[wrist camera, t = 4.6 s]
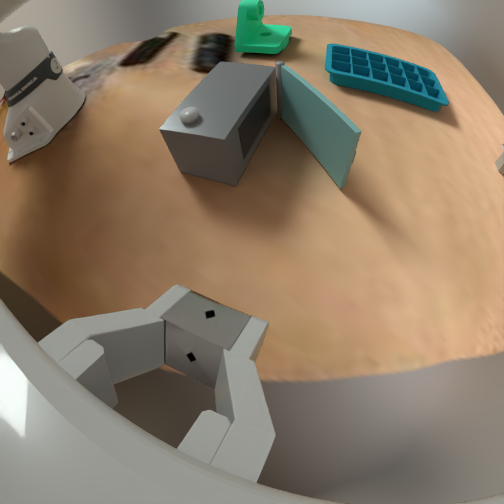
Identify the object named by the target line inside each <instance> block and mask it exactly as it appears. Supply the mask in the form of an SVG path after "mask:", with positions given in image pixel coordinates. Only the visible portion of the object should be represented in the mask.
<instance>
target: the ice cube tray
mask: <svg viewBox="0 0 504 504" xmlns="http://www.w3.org/2000/svg"><path fill="white" fill-rule="evenodd" d="M325 70H326V71H327V72H329V73H330V81H331V82H332V83H334V84H336V85H340V86H346V87H350V88H355V89H360V90H364V91H368V92H372V93H376V94H380V95H384V96H388V97H391V98H395V99H398V100H401V101H404V102H408V103H411V104H414V105H417V106H420V107H423V108H425V109H428V110H431V111H435V112H437V111H438V110H439V108H440V107H441V105H445V106H447V105H448V104H449V101H448V99H447V97H446V95H445V93H444V91H443V89H442V87H441V84H440V82H439V80H438V79H437V77H436V75H435V73H433V72H432V71H431V70H429V69H427V68H424V67H421V66H419V65H416V64H413V63H410V62H407V61H404V60H401V59H397V58H394V57H391V56H387V55H383V54H380V53H376V52H372V51H368V50H363V49H359V48H354V47H349V46H344V45H338V44H328V45H327V53H326V64H325Z"/></svg>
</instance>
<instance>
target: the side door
mask: <svg viewBox="0 0 504 504" xmlns="http://www.w3.org/2000/svg"><path fill="white" fill-rule="evenodd" d="M275 65H276V86H277V111H278V118H280V119H283V120H284V121H285V122H286V124H287V125H288V126H289V127H290V128H291V129H292V130H293V131H294V133H295V134H296V135H297V136H298V137H299V138H300V140H301V141H302V142H303V143H304V144H305V145H306V147H307V148H308V149H309V150H310V151H311V153H312V154H313V155H314V156H315V157H316V159H317V160H318V161H319V162H320V164H321V165H322V166H323V167H324V169H325V170H326V171H327V172H328V174H329V175H330V176H331V178H332V179H333V180H334V182H335V183H336V184H337V185H338V187H339V188H342V187H344V186H345V183H346V180H347V176H348V173H349V170H350V167H351V164H353V161H354V157H355V154H356V148H357V144H358V141H359V138H360V134H361V130H360V129H359V128H358V127H357V126H356V125H355V124H354V123H353V122H352V121H351V120H350V119H349V118H348V117H347V116H346V115H345V114H344V113H342V112H341V111H340V110H339V109H338V108H337V107H336V106H335V105H334V104H333V103H332V102H331V101H329V100H328V99H327V98H326V97H325V96H324V95H323V94H322V93H320V92H319V91H318V90H317V89H316V88H314V87H313V86H312V85H311V84H310V83H308V82H307V81H306V80H305V79H304V78H302V77H301V76H300V75H299V74H297V73H296V72H295V71H293V70H292V69H291V68H289V67H288V66H287V65H285V62H283V61H277V62H275Z"/></svg>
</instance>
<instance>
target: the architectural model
mask: <svg viewBox="0 0 504 504" xmlns="http://www.w3.org/2000/svg"><path fill="white" fill-rule="evenodd" d="M502 148H503V150H504V144H502ZM495 164H496V167H497V170H498V171H499V173H501V174H504V152H503V153H502V155H501V156H500V157H499V158H498V160H497V161H496V162H495Z"/></svg>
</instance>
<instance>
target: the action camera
mask: <svg viewBox="0 0 504 504" xmlns="http://www.w3.org/2000/svg"><path fill="white" fill-rule="evenodd" d="M276 113H277V87H276V67H270V66H263V65H254V64H244V63H232V62H220V63H219V64H218V65H217V66H216V67H215V68H214V69H213V70H212V71H211V72H210V73H209V74H208V75H207V76H206V77H205V78H204V79H203V80H202V81H201V82H200V83H199V84H198V85H197V86H196V87H195V88H194V89H193V90H192V91H191V93H190V94H189V95H188V96H187V97H186V98H185V99H184V100H183V101H182V103H181V104H180V105H179V106H178V107H177V108H176V109H175V111H174V112H173V113H172V114H171V115H170V117H169V118H168V119H167V120H166V121H165V123H164V124H163V125H162V126H161V128H160V129H159V130H160V132H161V134H162V136H163V138H164V140H165V142H166V144H167V146H168V148H169V150H170V152H171V154H172V156H173V158H174V160H175V162H176V164H177V166H178V168H179V170H180V172H182V173H186V174H190V175H194V176H198V177H202V178H206V179H210V180H214V181H218V182H222V183H225V184H229V185H233V186H236V185H237V184H238V182H239V180H240V178H241V176H242V174H243V172H244V170H245V168H246V167H247V165H248V163H249V161H250V159H251V157H252V156H253V154H254V152H255V150H256V148H257V146H258V145H259V143H260V141H261V139H262V137H263V136H264V134H265V132H266V130H267V129H268V127H269V125H270V123H271V122H272V120H273V118H274V116H275V115H276Z"/></svg>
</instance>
